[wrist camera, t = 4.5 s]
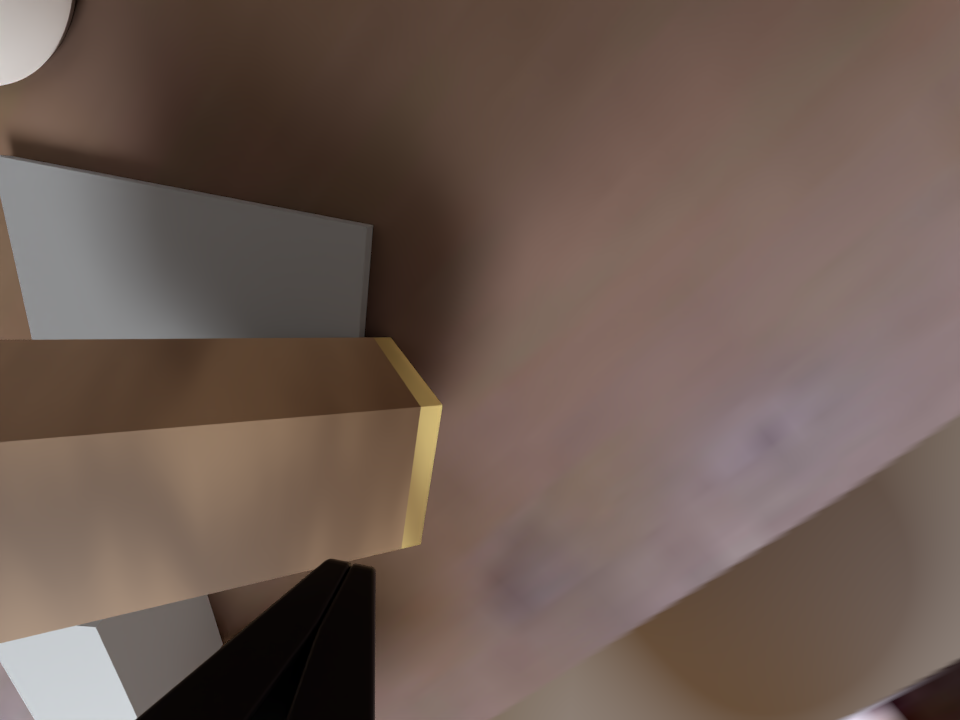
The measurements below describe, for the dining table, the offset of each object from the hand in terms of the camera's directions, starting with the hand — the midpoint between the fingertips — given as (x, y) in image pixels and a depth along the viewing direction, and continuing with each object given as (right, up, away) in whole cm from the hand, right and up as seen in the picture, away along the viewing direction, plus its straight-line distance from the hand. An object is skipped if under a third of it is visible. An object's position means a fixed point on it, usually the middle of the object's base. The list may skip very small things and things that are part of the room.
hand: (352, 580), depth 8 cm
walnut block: (0, +2, +4) cm, 5 cm away
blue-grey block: (-11, -3, +7) cm, 14 cm away
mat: (-6, +4, +6) cm, 10 cm away
